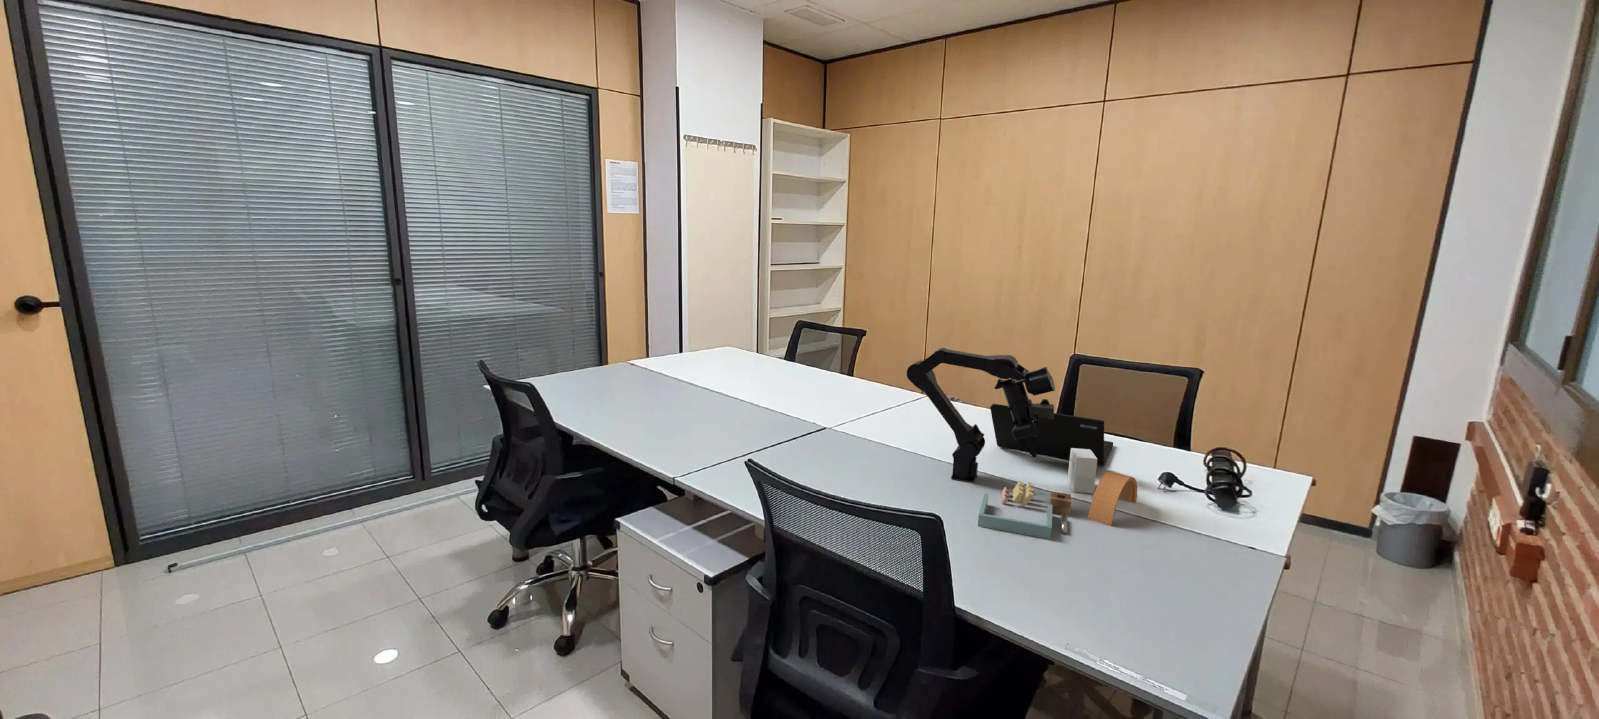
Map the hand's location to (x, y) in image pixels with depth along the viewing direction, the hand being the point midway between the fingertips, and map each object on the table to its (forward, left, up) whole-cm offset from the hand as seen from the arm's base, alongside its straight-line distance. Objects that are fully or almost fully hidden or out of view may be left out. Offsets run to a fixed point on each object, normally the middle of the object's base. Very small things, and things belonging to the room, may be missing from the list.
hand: (1035, 452), depth 177 cm
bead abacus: (-3, -9, -12) cm, 15 cm away
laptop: (+5, +35, -12) cm, 37 cm away
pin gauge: (+8, -20, -11) cm, 25 cm away
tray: (-3, -21, -11) cm, 24 cm away
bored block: (+7, -11, -11) cm, 17 cm away
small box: (+13, +8, -12) cm, 19 cm away
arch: (+21, -5, -12) cm, 24 cm away
